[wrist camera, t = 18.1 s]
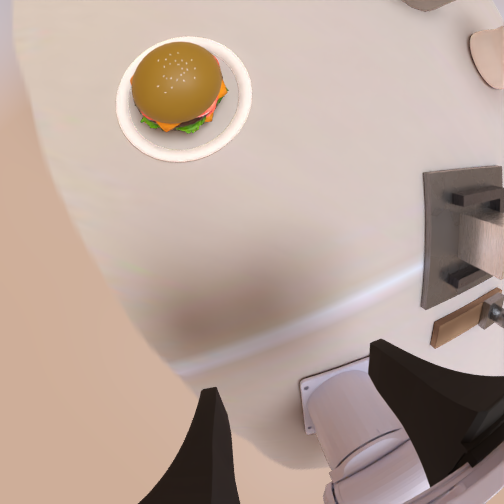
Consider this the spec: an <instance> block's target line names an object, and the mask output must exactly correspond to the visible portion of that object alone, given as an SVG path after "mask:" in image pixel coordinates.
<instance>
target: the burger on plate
mask: <svg viewBox="0 0 504 504" xmlns="http://www.w3.org/2000/svg"><path fill="white" fill-rule="evenodd" d="M211 53H212V54H214V55H216V56H217V57H219V58H220V59H222V60H223V61H224V62H225V63H226V64H227V65H228V66H229V67H230V69H231V70H232V72H233V74H234V75H235V78H236V81H237V84H238V89H239V101H238V107H237V110H236V113H235V115H234V117H233V119H232V121H231V122H230V124H229V125H228V126H227V128H226V129H225V130H224V131H223V132H222V133H221V134H220V135H219V136H217V137H216V138H215V139H213V140H212V141H210V142H208V143H206V144H204V145H202V146H198V147H195V148H192V149H185V150H173V149H167V148H163V147H160V146H157V145H155V144H153V143H151V142H150V141H148V140H147V139H146V138H144V137H143V136H142V135H141V134H140V133H139V131H138V130H137V129H136V127H135V125H134V123H133V122H132V119H131V116H130V112H129V96H130V90H131V88H132V94H133V98H134V103H135V106H136V107H137V108H138V110H139V112H140V114H142V115H143V119H142V120H141V123H142V122H145V123H147V124H148V125H149V126H150V128H156V129H157V127H158V128H159V127H160V128H161V129H162V130H163V131H165V132H168V131H169V130H178V131H180V130H181V131H185V132H187V134H188V133H191V132H192V133H194V131H195V132H196V129H197V130H199V126H200V125H202V124H204V122H211V121H212V117H213V112H214V110H215V109H216V107H217V105H218V103H220V101H221V99H222V98H223V97H224V95H225V94H226V93H227V91H229V90H228V89H227V88H226V87H225V84H224V82H223V77H222V73H221V70H220V66H219V63H218V60H217V59H216V58H215V56H213V55H212V54H211ZM251 102H252V86H251V81H250V77H249V74H248V71H247V70H246V68H245V66H244V65H243V63H242V61H241V60H240V59H239V58H238V57H237V56H236V55H235V54H234V52H232V51H231V50H230V49H228V48H227V47H225V46H224V45H222V44H220V43H218V42H215V41H213V40H210V39H206V38H201V37H188V36H185V37H178V38H172V39H169V40H166V41H163V42H160V43H158V44H156V45H154V46H152V47H150V48H148V49H147V50H146V51H144V52H143V53H142V54H140V55H139V56H138V57H137V58H136V59H135V60H134V61H133V62H132V64H131V65H130V66H129V67H128V69H127V70H126V72H125V74H124V75H123V77H122V79H121V82H120V84H119V87H118V90H117V97H116V114H117V118H118V122H119V125H120V127H121V129H122V131H123V133H124V135H125V136H126V138H127V139H128V140H129V141H130V142H131V143H132V145H133V146H135V147H136V148H137V149H139V150H140V151H141V152H143V153H144V154H146V155H149V156H151V157H153V158H155V159H159V160H164V161H168V162H186V161H193V160H197V159H200V158H204V157H207V156H209V155H211V154H213V153H215V152H217V151H218V150H220V149H222V148H223V147H224V146H225V145H227V144H228V143H229V142H230V141H232V139H233V138H234V137H235V136H236V135H237V134H238V133H239V131H240V130H241V128H242V127H243V125H244V123H245V121H246V120H247V117H248V114H249V111H250V108H251Z"/></svg>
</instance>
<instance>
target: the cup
mask: <svg viewBox="0 0 504 504" xmlns="http://www.w3.org/2000/svg"><path fill="white" fill-rule="evenodd" d="M402 1H403V2H405V3H406V4H407V5H409V6H410V7H412V8H415V9H418V10H421V11H424V12H426V11H431V10H435V9H437V8H439V7H441V6H444V5H446V4H448V3H451V2H453V1H455V0H402Z"/></svg>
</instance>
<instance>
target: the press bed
mask: <svg viewBox="0 0 504 504" xmlns="http://www.w3.org/2000/svg"><path fill="white" fill-rule="evenodd" d="M423 175H424V190H425V219H426V236H425V266H424V281H423V292H422V302H421V307H422V308H424V309H425V310H427V309H429V308H431V307H434V306H436V305H438V304H440V303H442V302H444V301H446V300H448V299H451V298H453V297H455V296H457V295H459V294H461V293H463V292H465V291H467V290H468V289H470V288H472V287H474V286H476V285H478V284H480V283H482V282H484V281H485V280H487V279H489V278H491V277H493V275H491V274H489V273H487V272H485V271H483V270H481V269H479V268H477V267H475V266H473V265H471V264H469V263H467V262H465V261H463V260H461V259H459V258H458V249H459V232H460V213H463V212H467V211H471V210H475V209H479V208H483V207H485V208H489V209H492V210H496V211H499V212H502V213H504V188H503V187H502V166H485V167H473V168H462V169H452V170H443V171H434V172H426V173H423Z"/></svg>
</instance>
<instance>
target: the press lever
mask: <svg viewBox="0 0 504 504" xmlns="http://www.w3.org/2000/svg"><path fill="white" fill-rule="evenodd" d="M503 301H504V295H503V294H501V293H499V292H498V293H496V294H494V295H493V296H491V297H490V298H488V299H486V300H485V301H484V303H483V308H482V312H481V317H480V321H479V326H480V327H481V328H483V329H486V328H487V327H489V326H490V325H492V324H493V323H494V322H495V323H497V324H498V325H500V326H501V327H502V328H504V309H503V308H502V305H503Z"/></svg>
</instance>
